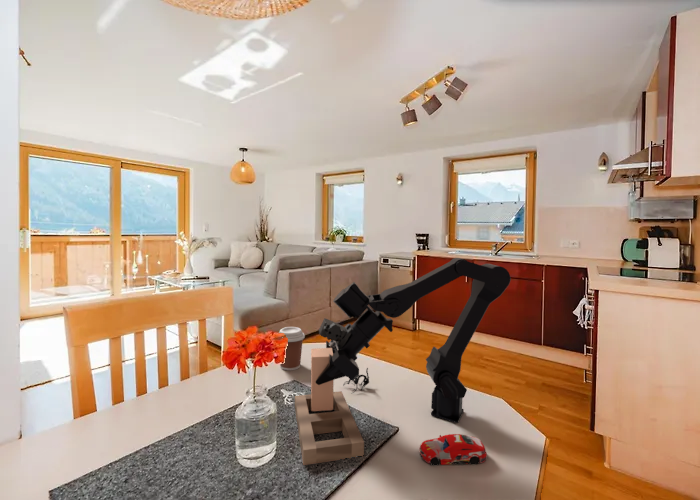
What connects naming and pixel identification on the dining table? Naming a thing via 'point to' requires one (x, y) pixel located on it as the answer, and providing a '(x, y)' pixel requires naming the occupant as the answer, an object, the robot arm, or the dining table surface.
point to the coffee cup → (293, 347)
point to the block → (322, 392)
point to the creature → (366, 381)
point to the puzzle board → (327, 431)
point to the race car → (453, 450)
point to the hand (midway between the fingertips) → (316, 378)
